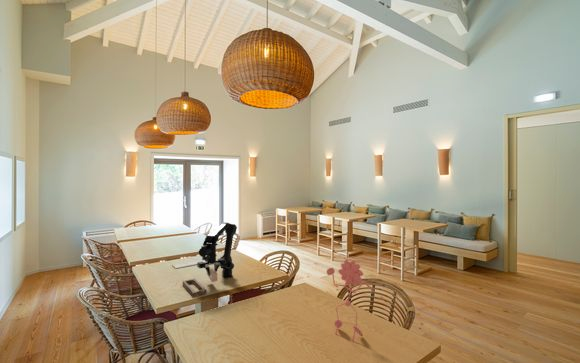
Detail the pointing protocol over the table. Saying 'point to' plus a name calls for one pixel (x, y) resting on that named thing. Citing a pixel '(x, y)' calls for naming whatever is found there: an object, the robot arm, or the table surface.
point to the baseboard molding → (188, 264)
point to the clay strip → (212, 274)
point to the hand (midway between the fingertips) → (211, 275)
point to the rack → (192, 292)
